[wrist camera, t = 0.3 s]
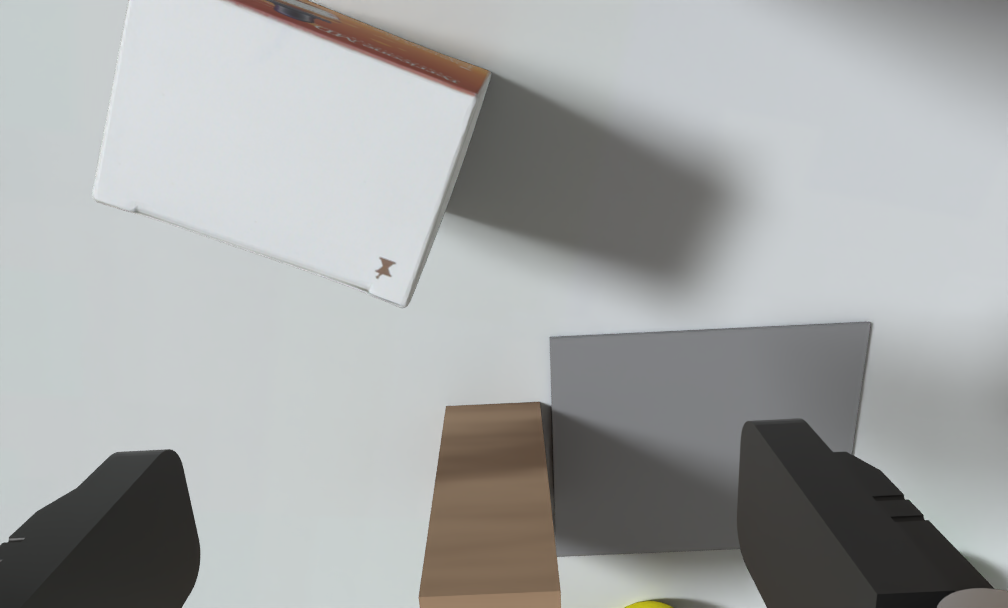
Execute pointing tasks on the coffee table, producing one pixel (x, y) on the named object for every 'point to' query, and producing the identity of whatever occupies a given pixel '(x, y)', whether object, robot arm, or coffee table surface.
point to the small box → (288, 135)
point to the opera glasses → (648, 605)
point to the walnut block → (491, 513)
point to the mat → (684, 426)
